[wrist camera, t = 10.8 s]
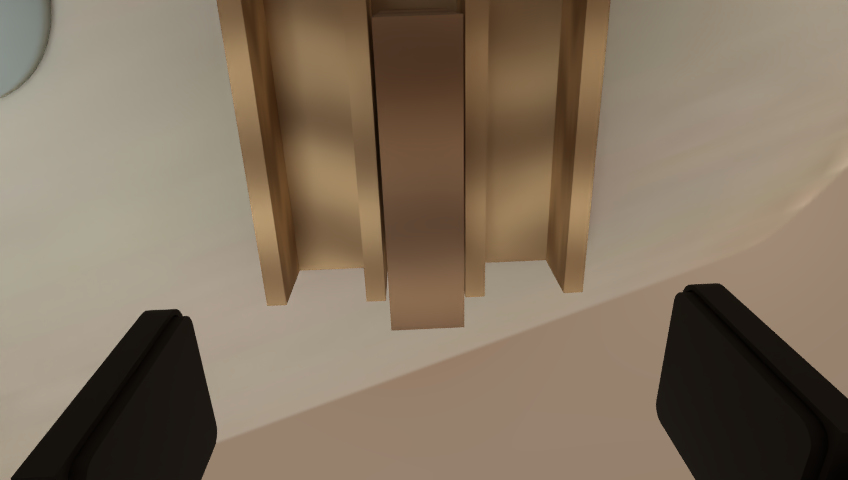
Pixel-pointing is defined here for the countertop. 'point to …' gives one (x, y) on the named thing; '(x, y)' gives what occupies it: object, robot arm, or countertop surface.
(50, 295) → the countertop surface
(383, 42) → the board
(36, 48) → the pale blue rounded part
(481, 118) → the rack
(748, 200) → the countertop surface
